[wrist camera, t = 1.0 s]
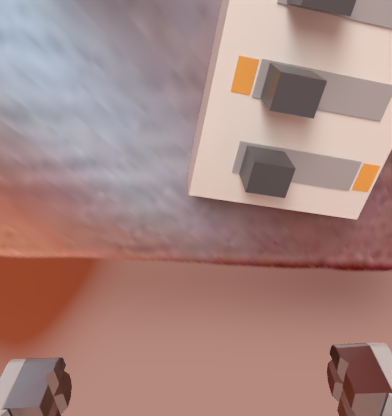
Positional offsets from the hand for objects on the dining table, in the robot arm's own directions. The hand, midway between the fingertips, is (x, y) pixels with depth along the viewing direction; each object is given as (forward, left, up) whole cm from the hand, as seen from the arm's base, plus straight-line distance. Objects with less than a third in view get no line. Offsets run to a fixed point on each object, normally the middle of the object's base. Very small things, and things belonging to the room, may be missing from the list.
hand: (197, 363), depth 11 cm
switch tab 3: (+6, -1, -19) cm, 20 cm away
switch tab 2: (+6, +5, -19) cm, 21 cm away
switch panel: (+9, +5, -24) cm, 26 cm away
